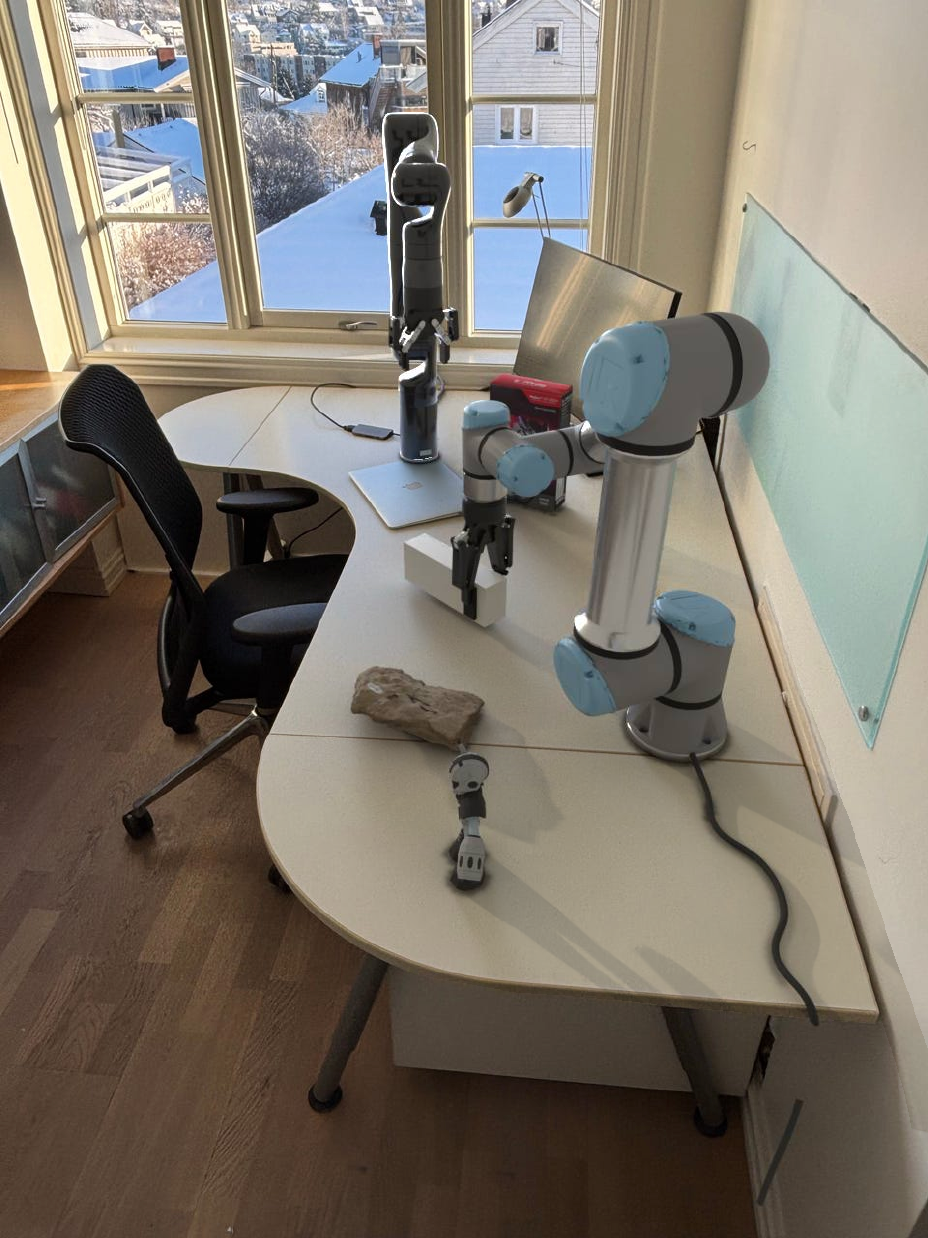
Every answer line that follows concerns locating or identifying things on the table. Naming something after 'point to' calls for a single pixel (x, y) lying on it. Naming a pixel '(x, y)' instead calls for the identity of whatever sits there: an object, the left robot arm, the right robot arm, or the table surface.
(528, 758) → the table surface
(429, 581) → the bar
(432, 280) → the left robot arm
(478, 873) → the robot
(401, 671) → the stone
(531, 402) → the graphics card box
